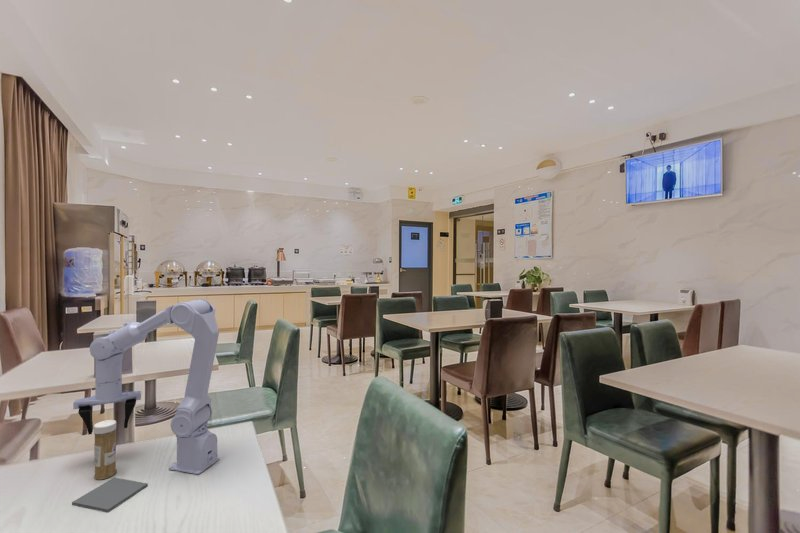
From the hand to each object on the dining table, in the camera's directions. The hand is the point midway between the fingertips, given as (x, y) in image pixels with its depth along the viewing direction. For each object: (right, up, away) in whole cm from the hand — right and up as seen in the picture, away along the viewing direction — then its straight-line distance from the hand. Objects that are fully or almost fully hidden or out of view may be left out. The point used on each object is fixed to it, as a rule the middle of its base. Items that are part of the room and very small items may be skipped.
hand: (108, 429), depth 105 cm
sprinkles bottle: (+4, -9, -7) cm, 12 cm away
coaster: (+12, -9, -15) cm, 21 cm away
